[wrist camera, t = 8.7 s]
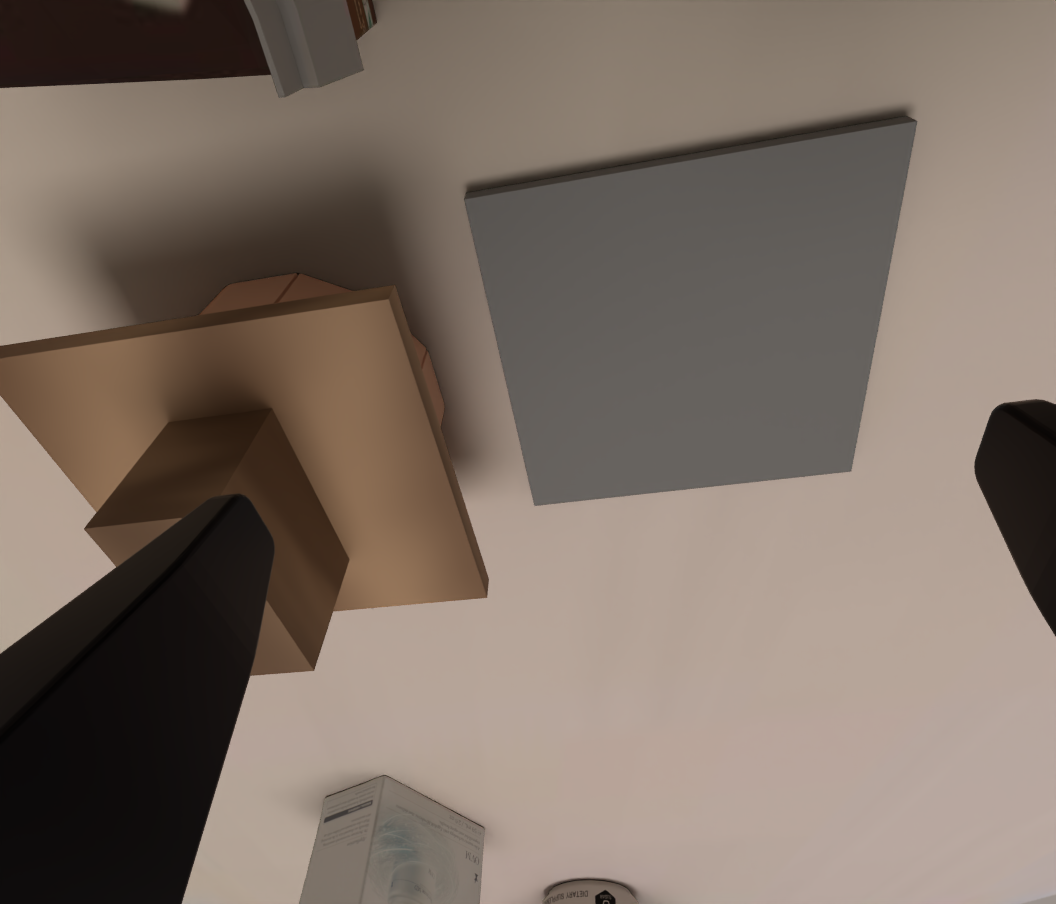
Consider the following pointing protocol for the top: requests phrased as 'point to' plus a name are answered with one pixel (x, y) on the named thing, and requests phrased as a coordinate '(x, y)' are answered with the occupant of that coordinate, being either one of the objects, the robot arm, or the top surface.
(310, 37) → the food container
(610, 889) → the supplement can
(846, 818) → the top surface
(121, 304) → the top surface
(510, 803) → the top surface
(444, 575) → the walnut lid
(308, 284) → the terracotta bowl
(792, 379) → the rubber mat
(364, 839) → the skincare box
